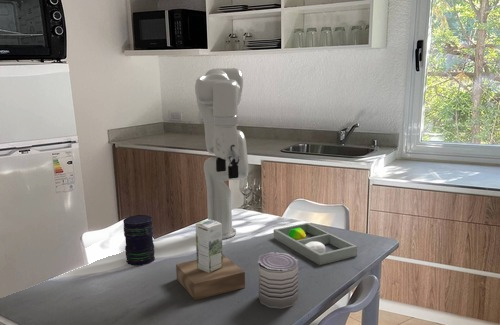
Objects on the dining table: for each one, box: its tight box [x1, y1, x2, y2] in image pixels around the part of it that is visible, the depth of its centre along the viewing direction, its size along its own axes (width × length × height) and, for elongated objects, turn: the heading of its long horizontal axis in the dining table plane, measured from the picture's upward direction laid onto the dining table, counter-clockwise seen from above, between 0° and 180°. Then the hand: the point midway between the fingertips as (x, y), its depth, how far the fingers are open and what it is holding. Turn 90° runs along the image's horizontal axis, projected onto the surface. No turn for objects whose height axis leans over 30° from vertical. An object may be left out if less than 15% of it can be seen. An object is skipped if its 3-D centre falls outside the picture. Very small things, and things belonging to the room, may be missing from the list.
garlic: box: [305, 241, 327, 254], centre depth 164 cm, size 8×7×4 cm
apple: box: [288, 227, 307, 240], centre depth 172 cm, size 7×6×9 cm
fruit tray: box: [273, 222, 358, 266], centre depth 169 cm, size 30×16×4 cm, turn 28°
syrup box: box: [195, 219, 223, 273], centre depth 139 cm, size 6×6×14 cm
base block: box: [175, 253, 246, 301], centre depth 141 cm, size 16×16×5 cm
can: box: [257, 251, 299, 310], centre depth 130 cm, size 11×11×12 cm
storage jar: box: [122, 214, 156, 267], centre depth 159 cm, size 10×10×15 cm
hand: (227, 174), depth 147 cm, fingers open, 9 cm apart
